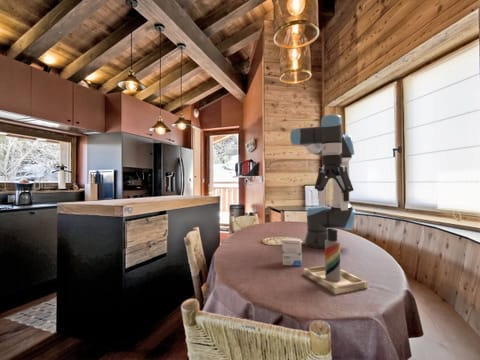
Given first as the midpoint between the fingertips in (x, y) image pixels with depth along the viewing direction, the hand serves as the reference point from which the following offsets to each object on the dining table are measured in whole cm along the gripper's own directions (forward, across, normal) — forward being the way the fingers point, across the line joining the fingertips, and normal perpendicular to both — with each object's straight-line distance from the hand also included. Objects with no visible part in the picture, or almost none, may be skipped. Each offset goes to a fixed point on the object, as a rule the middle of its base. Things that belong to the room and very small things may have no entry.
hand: (332, 208), depth 101 cm
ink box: (+29, -22, -6) cm, 37 cm away
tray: (+28, +1, -1) cm, 29 cm away
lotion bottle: (+28, +1, -1) cm, 28 cm away
